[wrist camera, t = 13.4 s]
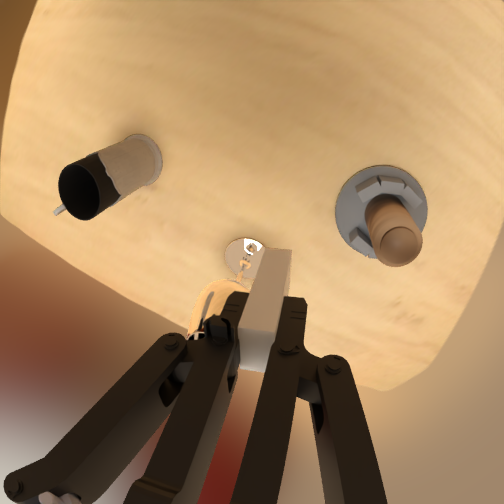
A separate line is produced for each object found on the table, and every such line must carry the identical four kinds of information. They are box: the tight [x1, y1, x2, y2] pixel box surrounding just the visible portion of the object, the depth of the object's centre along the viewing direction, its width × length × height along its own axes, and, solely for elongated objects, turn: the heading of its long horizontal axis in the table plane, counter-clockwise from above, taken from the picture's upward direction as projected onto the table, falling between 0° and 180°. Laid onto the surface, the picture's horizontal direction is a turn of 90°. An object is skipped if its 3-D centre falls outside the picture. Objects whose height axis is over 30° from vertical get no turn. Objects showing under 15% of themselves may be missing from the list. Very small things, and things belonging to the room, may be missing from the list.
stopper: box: [365, 194, 423, 267], centre depth 36 cm, size 6×6×10 cm
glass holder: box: [53, 134, 162, 220], centre depth 39 cm, size 9×14×15 cm, turn 116°
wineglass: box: [187, 238, 265, 340], centre depth 41 cm, size 8×8×20 cm
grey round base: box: [335, 165, 427, 259], centre depth 39 cm, size 14×14×4 cm
